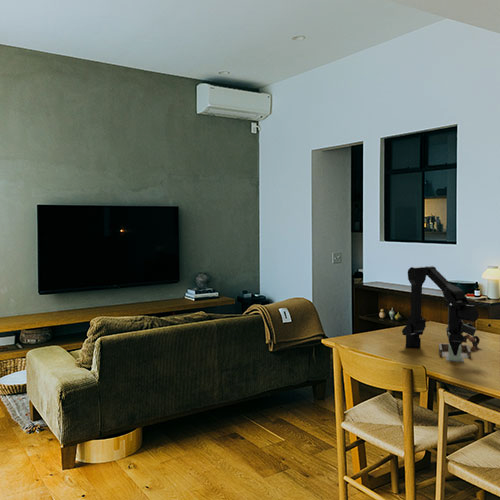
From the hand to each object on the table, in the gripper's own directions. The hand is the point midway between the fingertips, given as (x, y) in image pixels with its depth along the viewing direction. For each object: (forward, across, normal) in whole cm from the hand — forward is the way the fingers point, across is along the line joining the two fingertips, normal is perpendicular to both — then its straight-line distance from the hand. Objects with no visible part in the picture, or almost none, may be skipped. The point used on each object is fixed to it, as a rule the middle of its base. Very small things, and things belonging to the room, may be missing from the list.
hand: (454, 352), depth 228 cm
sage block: (+3, 0, 0) cm, 3 cm away
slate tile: (+3, 0, 0) cm, 3 cm away
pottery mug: (+4, +24, -8) cm, 26 cm away
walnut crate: (+3, +10, 0) cm, 11 cm away
